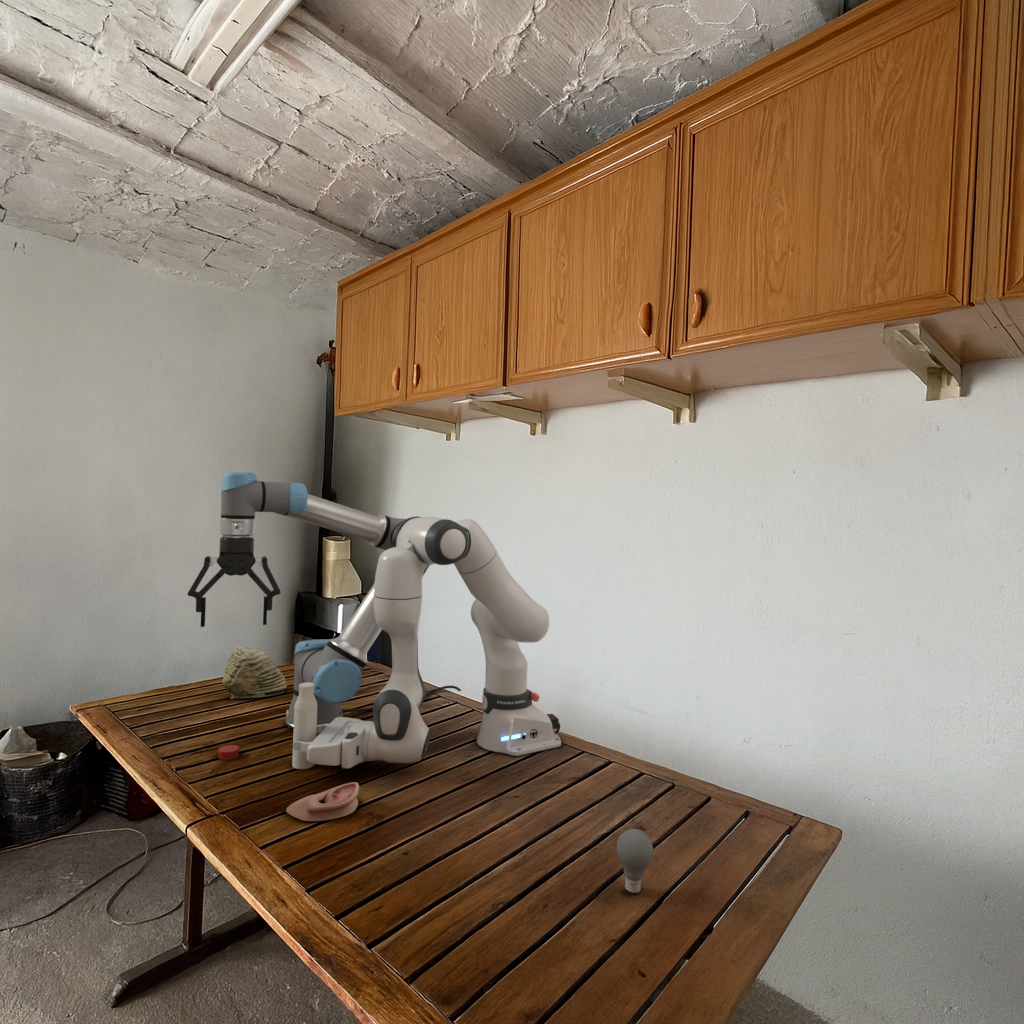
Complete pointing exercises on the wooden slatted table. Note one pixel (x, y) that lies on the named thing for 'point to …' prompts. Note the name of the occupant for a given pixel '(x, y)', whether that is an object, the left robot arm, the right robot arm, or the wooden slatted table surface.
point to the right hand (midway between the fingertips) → (302, 736)
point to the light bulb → (634, 857)
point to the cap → (228, 752)
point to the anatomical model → (326, 804)
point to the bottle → (304, 723)
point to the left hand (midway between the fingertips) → (234, 625)
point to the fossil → (252, 674)
